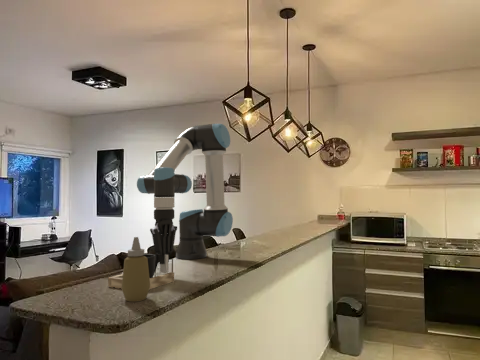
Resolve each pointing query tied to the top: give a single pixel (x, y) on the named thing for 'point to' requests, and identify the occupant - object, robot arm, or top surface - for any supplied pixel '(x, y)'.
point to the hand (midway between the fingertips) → (164, 272)
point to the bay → (154, 282)
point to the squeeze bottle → (135, 274)
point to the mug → (152, 263)
